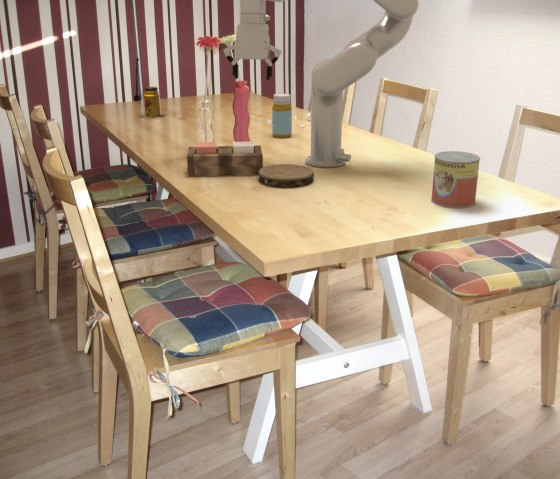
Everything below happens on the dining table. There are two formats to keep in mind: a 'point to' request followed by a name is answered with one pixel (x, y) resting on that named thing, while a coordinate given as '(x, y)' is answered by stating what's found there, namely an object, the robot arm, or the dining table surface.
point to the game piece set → (294, 118)
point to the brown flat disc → (286, 176)
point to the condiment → (152, 103)
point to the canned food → (455, 179)
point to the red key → (206, 148)
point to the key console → (224, 162)
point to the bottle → (282, 116)
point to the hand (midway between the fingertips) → (252, 78)
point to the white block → (243, 147)
